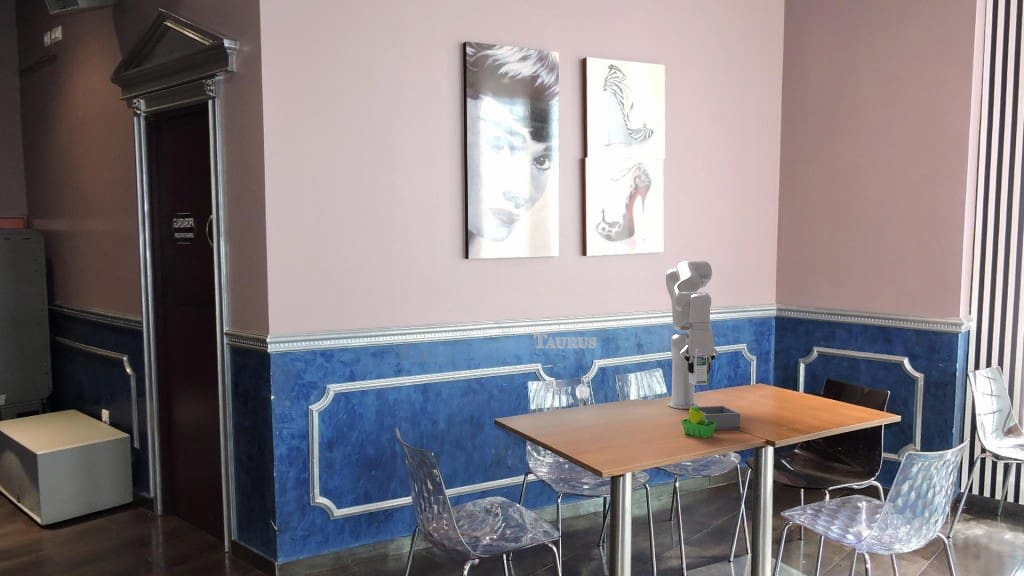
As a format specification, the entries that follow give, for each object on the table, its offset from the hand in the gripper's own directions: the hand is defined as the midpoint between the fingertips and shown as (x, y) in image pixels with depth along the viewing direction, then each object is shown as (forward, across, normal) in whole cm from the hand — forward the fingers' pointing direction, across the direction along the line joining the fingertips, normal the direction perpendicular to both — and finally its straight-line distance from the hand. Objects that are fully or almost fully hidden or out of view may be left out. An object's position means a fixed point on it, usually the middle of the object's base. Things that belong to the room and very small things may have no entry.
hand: (698, 372), depth 309 cm
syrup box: (+5, 0, 0) cm, 5 cm away
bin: (+21, +7, 0) cm, 22 cm away
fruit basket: (+21, -6, -14) cm, 26 cm away
